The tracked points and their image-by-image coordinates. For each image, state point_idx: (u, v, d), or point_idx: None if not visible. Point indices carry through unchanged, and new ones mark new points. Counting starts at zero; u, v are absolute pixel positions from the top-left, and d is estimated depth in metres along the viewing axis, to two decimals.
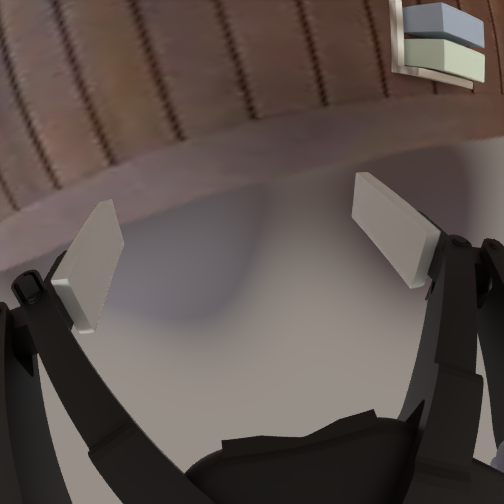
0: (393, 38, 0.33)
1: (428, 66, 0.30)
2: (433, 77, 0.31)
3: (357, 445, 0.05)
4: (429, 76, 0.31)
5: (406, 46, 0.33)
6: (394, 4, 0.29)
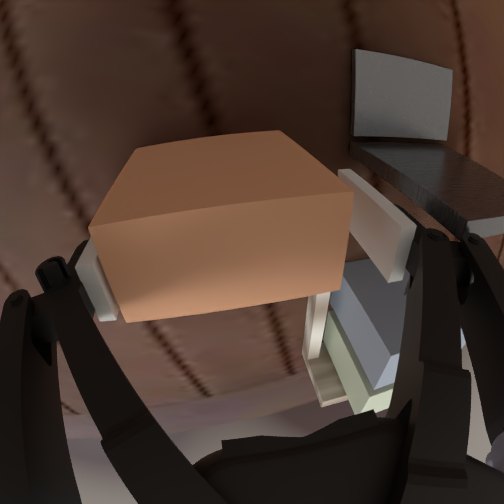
0: (308, 324, 0.28)
1: (344, 388, 0.26)
2: None
3: (358, 445, 0.05)
4: (341, 400, 0.26)
5: (329, 326, 0.28)
6: None
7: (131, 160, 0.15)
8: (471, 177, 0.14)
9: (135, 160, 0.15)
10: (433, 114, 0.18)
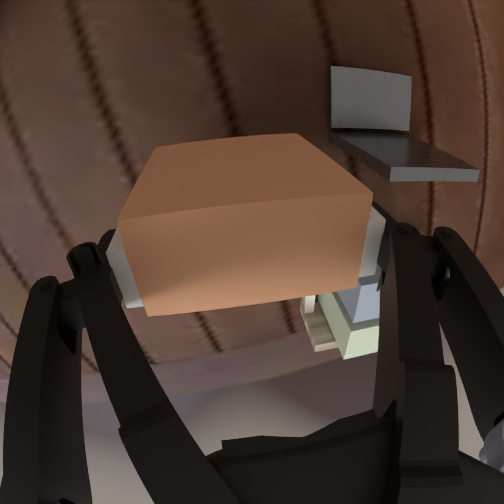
0: None
1: None
2: None
3: (358, 445, 0.05)
4: (331, 347, 0.33)
5: None
6: None
7: (153, 158, 0.15)
8: (415, 150, 0.21)
9: (157, 158, 0.15)
10: (395, 110, 0.25)
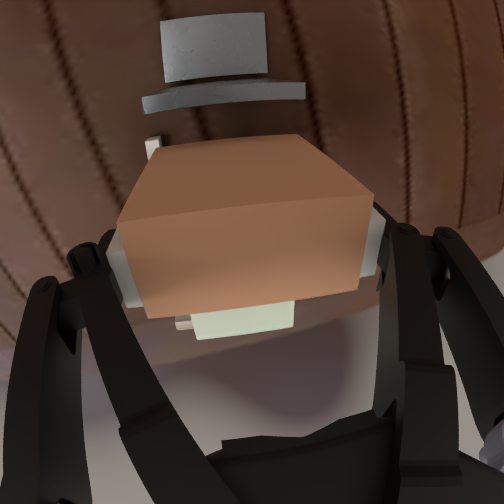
0: None
1: None
2: None
3: (358, 445, 0.05)
4: None
5: None
6: None
7: (152, 159, 0.15)
8: (230, 82, 0.18)
9: (157, 159, 0.15)
10: (245, 52, 0.22)
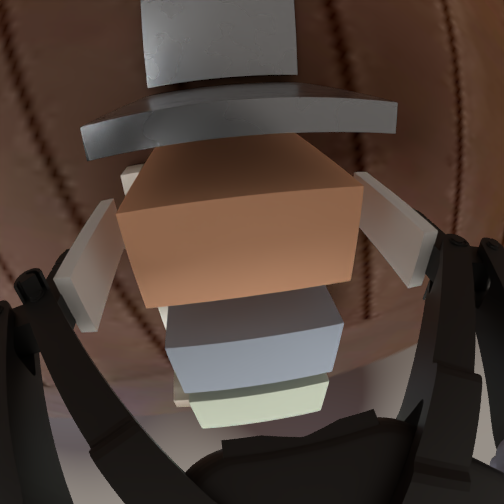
0: None
1: None
2: None
3: (358, 445, 0.05)
4: None
5: None
6: None
7: (152, 156, 0.16)
8: (249, 89, 0.11)
9: (156, 156, 0.16)
10: (265, 44, 0.15)
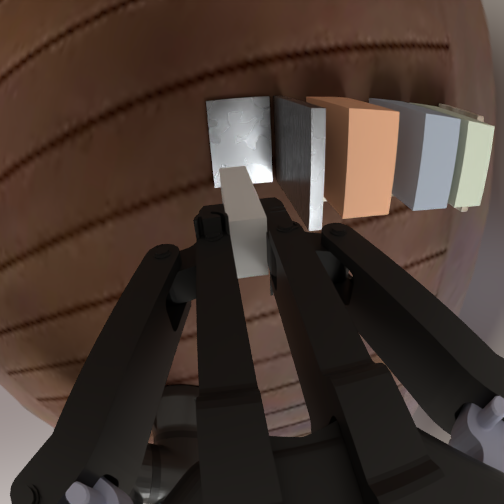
0: None
1: None
2: None
3: None
4: None
5: None
6: None
7: None
8: (293, 148, 0.23)
9: None
10: (249, 116, 0.27)
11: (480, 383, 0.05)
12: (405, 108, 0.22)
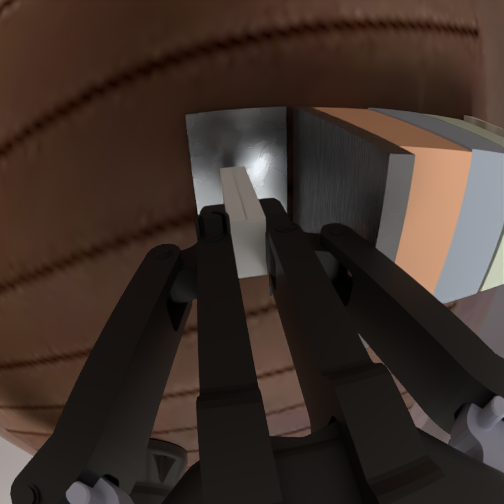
0: None
1: None
2: None
3: None
4: None
5: None
6: None
7: None
8: (330, 206, 0.14)
9: None
10: (254, 138, 0.18)
11: (480, 382, 0.05)
12: (431, 132, 0.12)
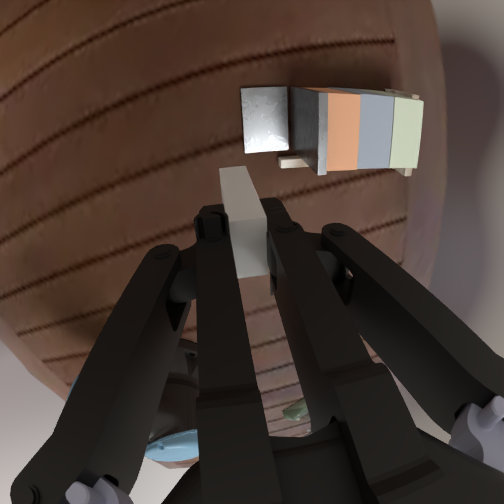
0: None
1: None
2: None
3: None
4: None
5: None
6: None
7: None
8: (305, 121, 0.32)
9: None
10: (272, 100, 0.36)
11: (480, 383, 0.05)
12: None
